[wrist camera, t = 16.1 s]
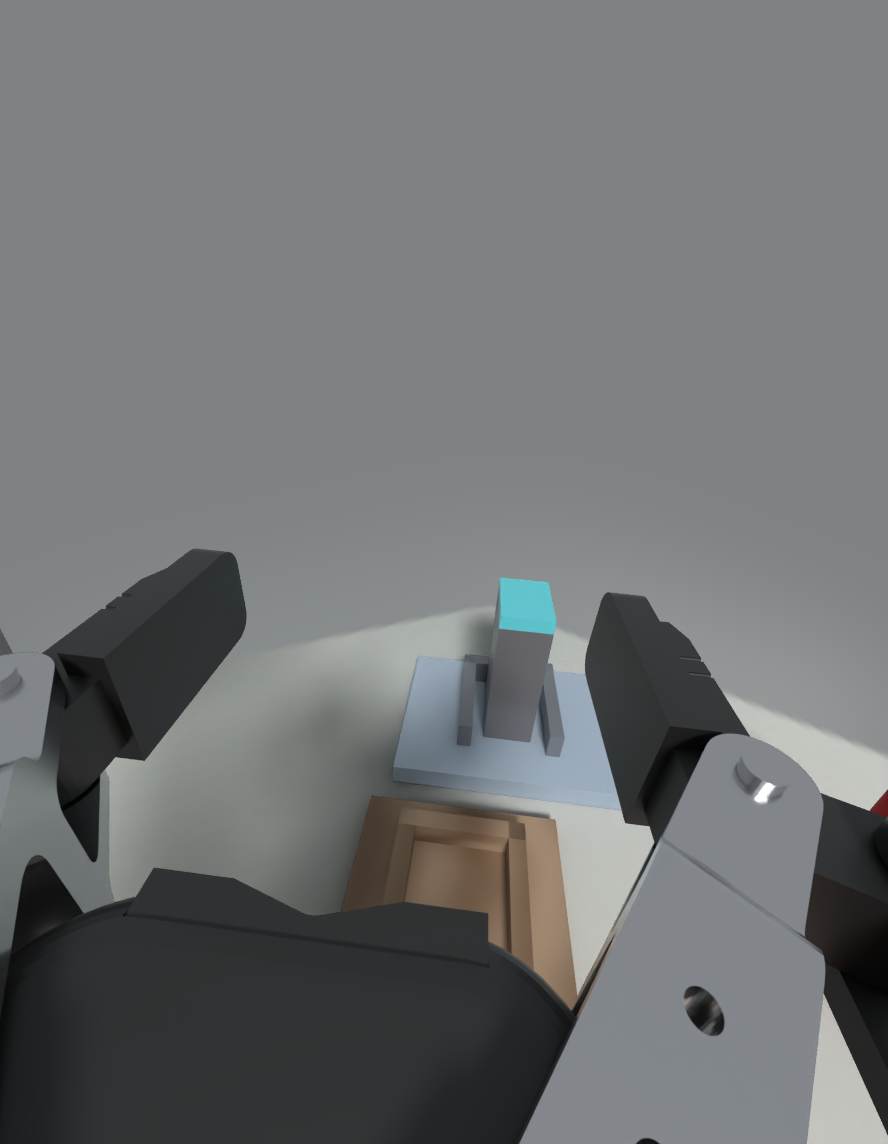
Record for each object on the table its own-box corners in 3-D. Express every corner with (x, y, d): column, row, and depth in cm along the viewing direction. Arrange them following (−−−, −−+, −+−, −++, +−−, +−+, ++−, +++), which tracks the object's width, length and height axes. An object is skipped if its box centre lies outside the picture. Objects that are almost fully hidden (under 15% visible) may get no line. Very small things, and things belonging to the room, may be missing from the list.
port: (392, 780, 32) (392, 746, 30) (418, 668, 42) (419, 638, 40) (622, 810, 31) (636, 776, 29) (589, 687, 41) (598, 658, 39)
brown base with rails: (305, 1062, 19) (299, 1040, 18) (372, 805, 30) (371, 780, 29) (585, 1109, 19) (598, 1090, 17) (552, 829, 29) (559, 805, 28)
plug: (483, 736, 34) (500, 615, 28) (484, 690, 38) (500, 577, 33) (530, 742, 33) (556, 621, 28) (526, 694, 38) (548, 582, 32)
